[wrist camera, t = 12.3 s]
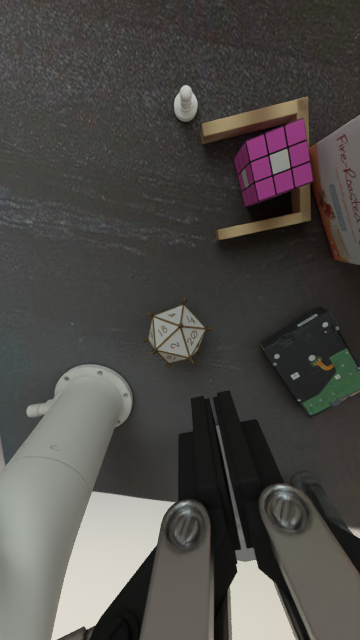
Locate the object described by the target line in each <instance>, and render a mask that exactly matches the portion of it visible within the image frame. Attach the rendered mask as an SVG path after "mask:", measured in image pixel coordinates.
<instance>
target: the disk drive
mask: <svg viewBox="0 0 360 640" xmlns="http://www.w3.org/2000/svg"><path fill="white" fill-rule="evenodd" d="M259 345H260V347H261V348H262V350H263V352H264V353H265V355H266V356H267V358H268V359H269V360H270V362H271V363H272V364H273V366H274V367H275V369H276V370H277V372H278V373H279V375H280V376H281V378H282V379H283V381H284V382H285V384H286V385H287V386H288V388H289V389H290V391H291V392H292V394H293V395H294V397H295V399H296V400H297V402H298V403H299V405H300V406H301V408H302V409H303V410H304V412H305V413H306V414H307V416H308V417H309V418H312V417H313V416H315V415H317V414H319V413H321V412H323V411H326V410H327V409H329V408H331V407H334V406H336V405H338V404H340V403H341V402H340V400H341V401H343V400H345V399H347V398H348V396H349V397H351V396H352V395H354V394H356V393H358V392H360V365H359V363H358V361H357V359H356V357H355V355H354V354H353V352H352V350H351V348H350V347H349V345H348V343H347V341H346V339H345V337H344V336H343V334H342V332H341V330H340V328H339V326H338V324H337V322H336V320H335V318H334V317H333V315H332V314H331V312H330V311H328V310H327V309H325V308H323V307H319V308H318V309H316V310H314V311H312V312H310V313H309V314H307V315H305V316H304V317H302V318H300V319H299V320H297V321H296V322H294V323H292V324H290V325H289V326H287V327H285V328H284V329H282V330H281V331H279V332H277V333H275V334H274V335H272V336H270V337H269V338H267V339H266V340H264V341H263V342H261V343H260V344H259Z"/></svg>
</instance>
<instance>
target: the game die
mask: <svg viewBox="0 0 360 640" xmlns="http://www.w3.org/2000/svg"><path fill="white" fill-rule="evenodd" d="M185 303H186V298H184V299H183V302H182V305H179V306H176V307H174V308H171V309H169V310H166V311H163V310H162V311H161V313H158V314H156V315H153V314H152V313H151V312H148V316H150V317H152V321H151V326H150V331H149V336H148V338H144V339H143V340H142V341H144V342H147V341H149V342H150V344H151V345H152V347H153V348H154V349H153V350H152V351H151V354H155V353H156V352H157V353H158V354H159V355H160V356H161V357H162V358H163V359H164V360H165V361H166V362H167V363H168V364H167V366H166V367H167V369H169V368H170V366H171V365H170V363H174V362H178V361H182V360H186V359H189V361H190V363H193V364H194V360H193V358H191V357H192V356H193V355H194V354H195V353H196V352H197V353H198V354H201V351H200V350H198V349H199V347H200V345H201V342H202V340H203V337H204V335H205V332H206V330H208V331H209V330H210V331H211V329H212V328H213V327H210V326H209V327H207V328H206V327H205V326H204V325H203V324H202V323H201V322H200V321H199V320H198V319H197V317H196V316H195V315H194V314H193V313H192V312H191V311H190V310H189V309H188V308H187V307H186V306H185Z"/></svg>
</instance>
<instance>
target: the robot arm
mask: <svg viewBox="0 0 360 640" xmlns="http://www.w3.org/2000/svg"><path fill="white" fill-rule="evenodd" d="M217 395H218V397H213V400H214V405H215V410H216V415H217V419H218V424H219V429H220V433H221V438H222V443H223V447H224V452H225V457H226V462H227V466H228V471H229V476H230V480H231V485H232V489H233V493H234V497H235V502H236V506H237V510H238V514H239V518H240V523H241V527H242V531H243V535H244V539H245V544H246V548H247V549H249V548H254V552H255V557H256V560H257V564H258V568H259V569H260V570H261V571H262V572H264V573H265V574H266V575H267V576H268V577H269V578H270V579H272V580H273V581H274V585H275V588H276V590H277V593H278V595H279V598H280V601H281V603H282V605H283V608H284V611H285V613H286V616H287V618H288V621H289V623H290V626H291V628H292V631H293V634H294V636H295V638H296V640H360V538H358V537H356V536H354V535H353V534H351V533H349V532H348V531H346V530H344V529H342V528H341V527H339V526H337V525H336V524H334V523H332V522H330V521H329V520H327V519H325V518H324V517H322V516H321V515H320V514H319V512H318V511H317V509H316V508H315V506H314V505H313V503H312V502H311V500H310V499H309V498H308V497H307V496H306V494H305V493H304V492H302V491H301V490H300V489H298V488H297V487H295V486H292V485H290V484H286V483H284V481H283V479H282V477H281V474H280V472H279V470H278V467H277V465H276V463H275V460H274V458H273V456H272V453H271V451H270V449H269V447H268V444H267V442H266V440H265V437H264V435H263V433H262V430H261V428H260V426H259V423H258V421H257V420H256V419H255V420H250V421H244V422H240V421H239V418H238V415H237V412H236V409H235V406H234V403H233V400H232V397H231V394H230V391H224V392H219V393H217ZM132 404H133V395H132V392H131V389H130V387H129V385H128V383H127V382H126V381H125V379H124V378H123V377H122V376H120V375H119V374H118V373H117V372H115V371H113V370H112V369H109V368H107V367H104V366H100V365H94V364H86V365H80V366H76V367H74V368H72V369H70V370H68V371H67V372H66V373H65V374H64V375H63V376H62V377H61V378H60V380H59V381H58V383H57V385H56V388H55V394H54V398H53V399H51V400H48V401H47V402H46V403H39V404H33V405H29V406H28V408H27V416H28V417H37V416H42V415H45V416H44V417H43V418H42V419H41V421H40V422H39V423H38V425H37V426H36V427H35V429H34V430H33V431H32V433H31V434H30V435H29V436H28V438H27V439H26V440H25V442H24V443H23V444H22V446H21V447H20V448H19V449H18V451H17V452H16V453H15V455H14V456H13V457H12V459H11V460H10V461H9V463H8V464H7V465H6V466H5V468H4V469H3V471H2V472H1V473H0V640H51V637H52V632H53V627H54V622H55V617H56V613H57V607H58V603H59V599H60V594H61V589H62V585H63V581H64V577H65V573H66V570H67V566H68V562H69V559H70V555H71V552H72V549H73V546H74V542H75V539H76V536H77V533H78V530H79V527H80V524H81V521H82V519H83V516H84V513H85V510H86V507H87V504H88V501H89V498H90V496H91V493H92V490H93V487H94V484H95V482H96V479H97V476H98V473H99V470H100V468H101V465H102V462H103V459H104V456H105V454H106V451H107V448H108V445H109V442H110V439H111V437H112V434H113V431H114V428H115V427H118V426H119V425H121V424H122V423H123V422H124V421H125V420H126V419H127V418H128V416H129V414H130V412H131V409H132ZM191 406H192V420H193V432H188V433H183V434H179V470H178V502H176V503H174V504H173V505H172V506H171V507H170V508H169V509H168V511H167V512H166V514H165V515H164V517H163V521H162V523H161V528H160V533H159V538H158V544H157V546H156V547H155V548H154V550H153V551H152V552H151V553H150V555H149V556H148V557H147V558H146V560H145V561H144V562H143V564H142V565H141V566H140V567H139V569H138V570H137V571H136V573H135V574H134V575H133V576H132V578H131V579H130V580H129V582H128V583H127V584H126V586H125V587H124V588H123V589H122V591H121V592H120V593H119V595H118V596H117V597H116V599H115V600H114V601H113V602H112V604H111V605H110V606H109V607H108V609H107V610H106V611H105V613H104V614H103V615H102V616H101V618H100V620H99V621H98V623H97V624H96V626H94V627H92V628H90V629H87V630H86V628H85V627H82V628H80V629H78V630H76V631H74V632H72V633H70V634H68V635H66V636H64V637H62V638H60V639H58V640H232V626H231V601H230V600H231V597H230V587H229V586H230V584H231V582H232V580H233V579H234V577H235V575H236V573H237V567H236V564H237V559H236V553H235V551H236V550H241V545H240V540H239V535H238V530H237V525H236V520H235V515H234V510H233V505H232V500H231V495H230V490H229V485H228V480H227V475H226V470H225V465H224V460H223V455H222V450H221V446H220V442H219V438H218V434H217V429H216V425H215V421H214V417H213V413H212V409H211V405H210V400H209V398H208V399H204V396H200V397H195V398H191Z"/></svg>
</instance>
